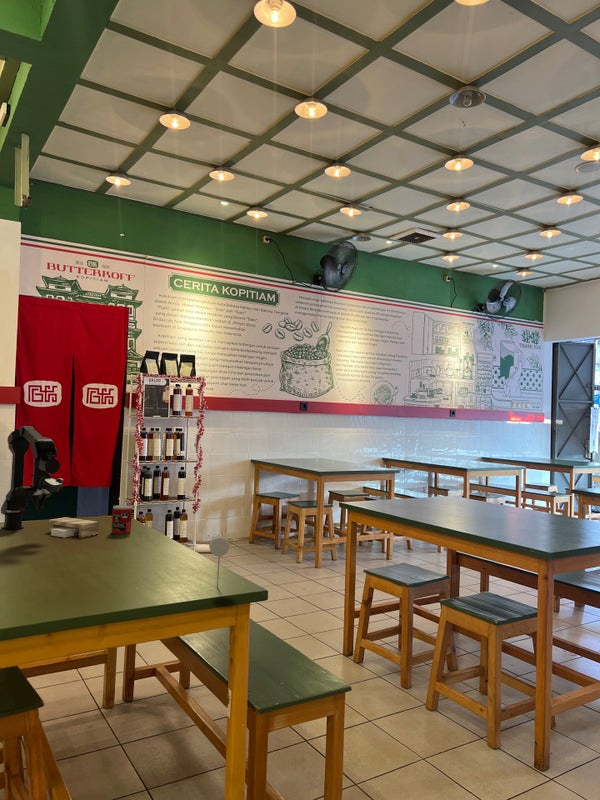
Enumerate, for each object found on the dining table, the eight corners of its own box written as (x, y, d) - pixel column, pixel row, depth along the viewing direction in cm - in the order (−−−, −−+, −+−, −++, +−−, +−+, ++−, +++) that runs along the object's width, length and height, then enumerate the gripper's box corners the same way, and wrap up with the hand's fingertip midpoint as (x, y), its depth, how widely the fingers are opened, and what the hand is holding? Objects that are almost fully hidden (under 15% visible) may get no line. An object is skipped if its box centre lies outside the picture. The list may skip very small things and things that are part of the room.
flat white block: (51, 535, 240) (51, 529, 240) (73, 531, 250) (73, 525, 251) (64, 537, 237) (64, 531, 237) (86, 533, 248) (86, 527, 248)
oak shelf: (48, 532, 246) (49, 519, 246) (65, 529, 254) (65, 517, 254) (82, 537, 238) (83, 524, 239) (98, 534, 247) (99, 521, 247)
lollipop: (218, 583, 181) (220, 533, 181) (231, 587, 177) (234, 536, 177) (202, 587, 176) (205, 535, 176) (216, 591, 172) (219, 539, 173)
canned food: (107, 533, 249) (109, 506, 250) (118, 530, 257) (120, 504, 257) (123, 535, 247) (125, 508, 247) (134, 532, 255) (135, 506, 255)
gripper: (37, 474, 220) (34, 517, 220) (75, 471, 238) (72, 511, 237) (15, 472, 225) (12, 513, 224) (53, 469, 242) (51, 508, 241)
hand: (38, 511), depth 231 cm, fingers closed
